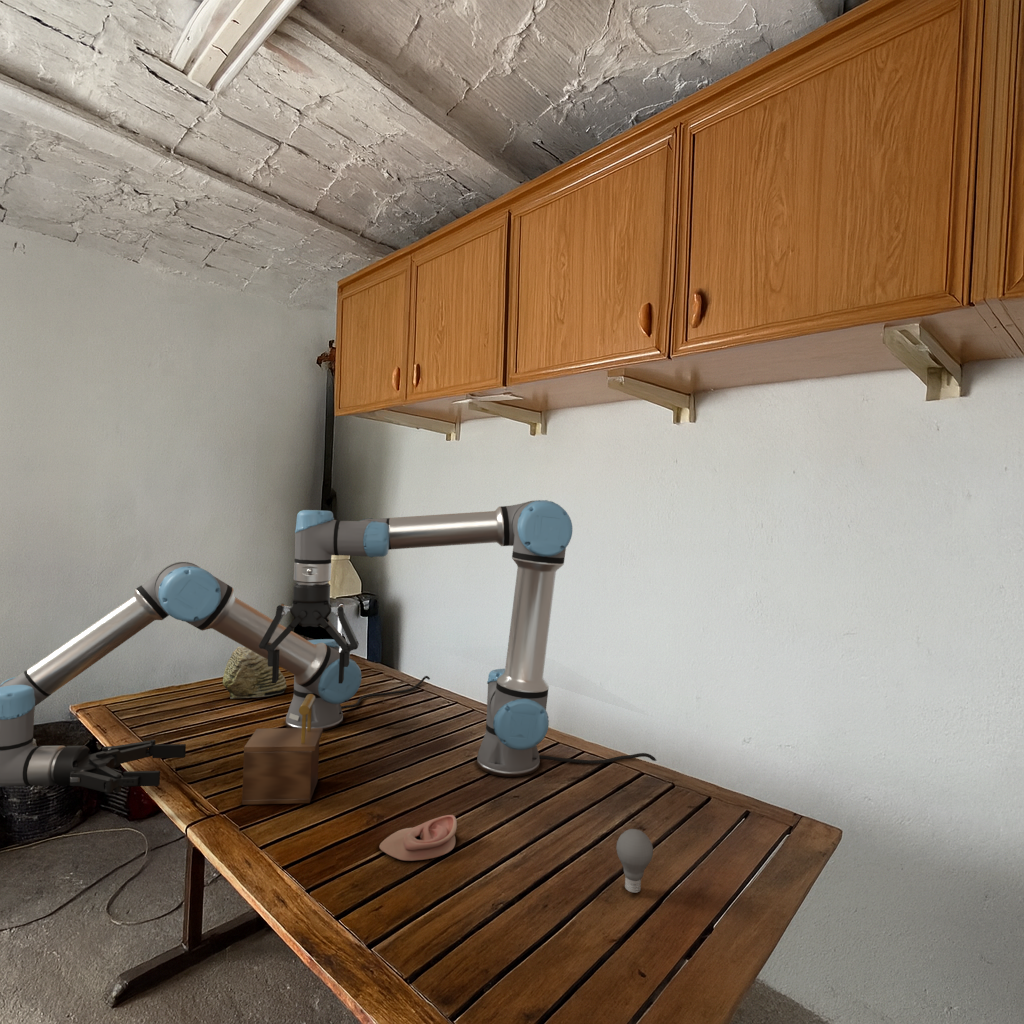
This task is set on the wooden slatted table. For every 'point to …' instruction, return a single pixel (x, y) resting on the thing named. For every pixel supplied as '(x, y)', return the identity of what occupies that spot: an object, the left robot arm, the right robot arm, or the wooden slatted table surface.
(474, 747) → the wooden slatted table surface
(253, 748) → the lid
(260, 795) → the chest
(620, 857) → the light bulb
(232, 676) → the fossil
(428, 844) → the anatomical model
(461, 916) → the wooden slatted table surface
